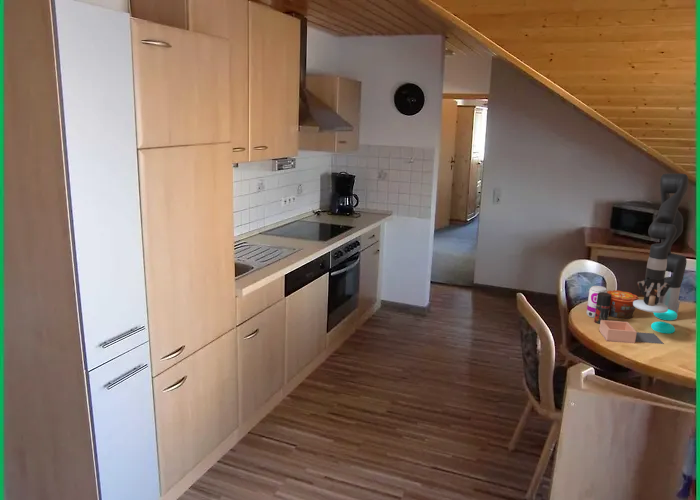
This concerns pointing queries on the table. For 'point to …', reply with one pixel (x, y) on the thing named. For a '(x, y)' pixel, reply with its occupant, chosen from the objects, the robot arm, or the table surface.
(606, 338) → the dish
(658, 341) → the mat
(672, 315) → the donuts
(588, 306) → the supplement can
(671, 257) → the robot arm
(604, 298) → the deodorant
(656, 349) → the table surface
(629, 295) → the food container
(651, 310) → the lid
